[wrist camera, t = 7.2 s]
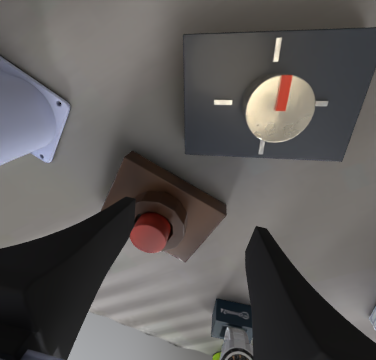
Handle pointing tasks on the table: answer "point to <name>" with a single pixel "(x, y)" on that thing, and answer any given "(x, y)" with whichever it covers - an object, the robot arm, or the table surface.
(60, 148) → the table surface
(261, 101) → the dial
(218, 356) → the soap dispenser
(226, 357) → the watch
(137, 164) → the button block
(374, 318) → the medicine box
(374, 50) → the timer panel
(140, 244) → the push knob
